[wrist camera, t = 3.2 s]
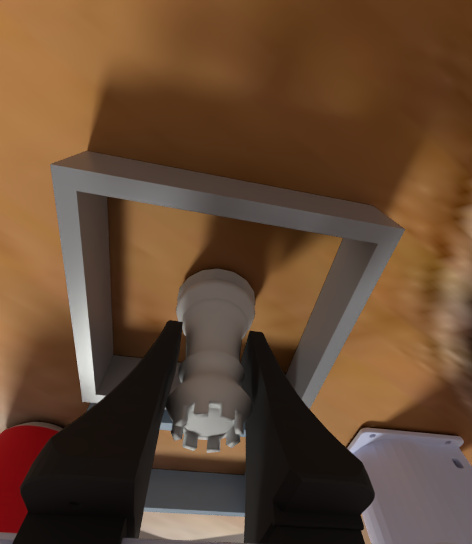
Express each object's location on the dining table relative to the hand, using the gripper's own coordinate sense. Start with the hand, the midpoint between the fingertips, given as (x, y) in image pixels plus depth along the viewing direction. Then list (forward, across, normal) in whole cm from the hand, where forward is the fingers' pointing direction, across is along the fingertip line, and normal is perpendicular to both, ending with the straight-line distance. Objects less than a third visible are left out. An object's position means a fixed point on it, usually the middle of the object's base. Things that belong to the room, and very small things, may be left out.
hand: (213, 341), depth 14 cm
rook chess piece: (+4, 0, 0) cm, 4 cm away
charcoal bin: (+4, 0, 0) cm, 4 cm away
